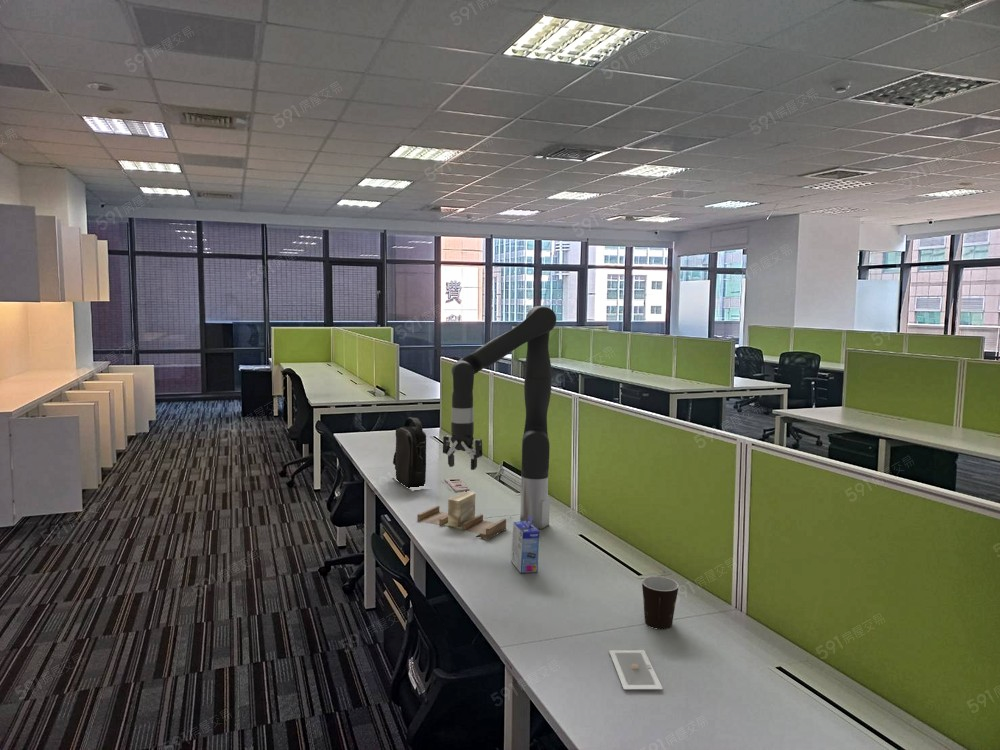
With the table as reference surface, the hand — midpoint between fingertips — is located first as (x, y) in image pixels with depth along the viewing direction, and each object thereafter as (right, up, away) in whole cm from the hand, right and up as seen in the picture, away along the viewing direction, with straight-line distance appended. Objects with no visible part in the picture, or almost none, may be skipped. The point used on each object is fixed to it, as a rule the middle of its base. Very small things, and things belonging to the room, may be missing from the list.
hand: (462, 467), depth 228 cm
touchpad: (+41, -32, -86) cm, 100 cm away
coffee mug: (+50, -29, -66) cm, 87 cm away
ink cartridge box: (+20, -25, -31) cm, 45 cm away
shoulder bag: (-24, -14, +55) cm, 62 cm away
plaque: (-4, -16, +49) cm, 52 cm away
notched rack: (0, -20, +2) cm, 21 cm away
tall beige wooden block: (0, -19, +2) cm, 19 cm away
